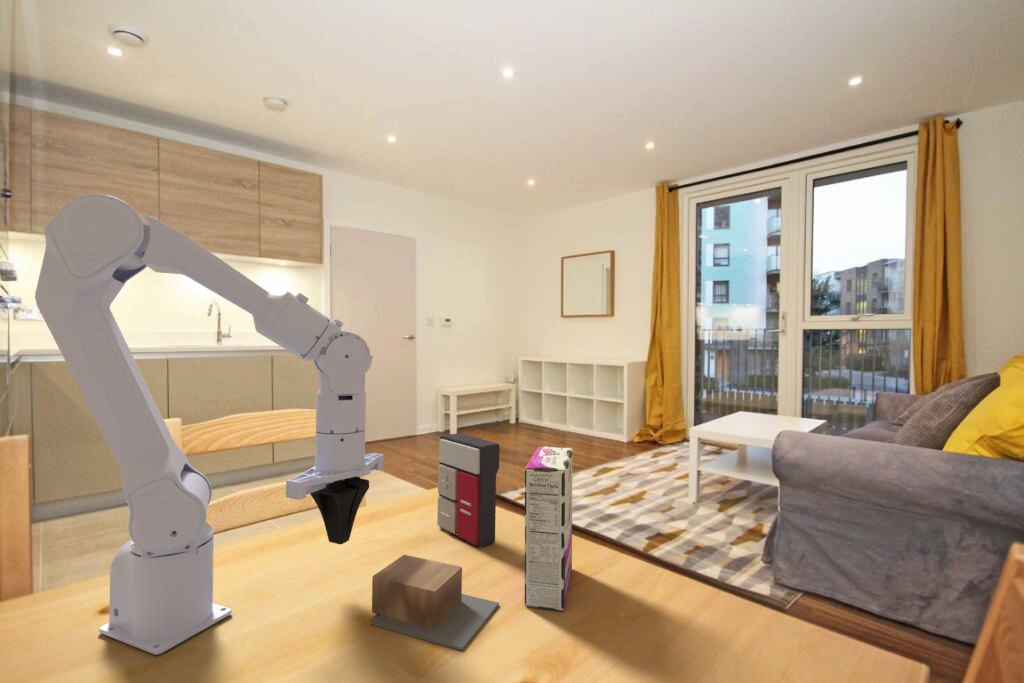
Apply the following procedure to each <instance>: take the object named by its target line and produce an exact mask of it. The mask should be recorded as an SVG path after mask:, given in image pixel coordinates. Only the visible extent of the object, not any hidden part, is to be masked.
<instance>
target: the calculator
mask: <svg viewBox="0 0 1024 683" xmlns="http://www.w3.org/2000/svg"><path fill="white" fill-rule="evenodd" d="M500 450H501V449H500V444H499V443H498V442H493V441H490V440H485V439H481V438H478V437H474V436H469V435H466V434H462V433H451V434H444V435H441V436H440V437H439V454H438V455H439V459H438V460H439V464H438V466H437V467H438V468H437V469H438V470H437V472H438V473H437V475H438V476H437V493H438V497H437V517H436V518H437V521H436V522H437V523H436V524H437V526H438V527H439V526H440V527H439V528H441V527H442V528H441V529H443V528H444V529H443V530H445V529H446V530H447V532H448V531H449V532H448V533H450V532H451V533H450V534H452V533H455V534H457V535H458V536H459V537H458V536H457V537H458V538H460V537H461V538H460V539H462V538H463V539H462V540H464V539H465V540H464V541H466V540H467V541H466V542H468V541H469V542H468V543H469V544H471V545H474V546H476V547H477V546H478V547H477V548H482V546H483V547H485V546H488V545H490V543H491V544H493V542H494V543H496V542H495V541H496V509H497V508H496V506H497V503H496V502H497V501H496V500H497V474H498V472H499V469H500ZM446 530H445V531H446Z"/></svg>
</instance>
